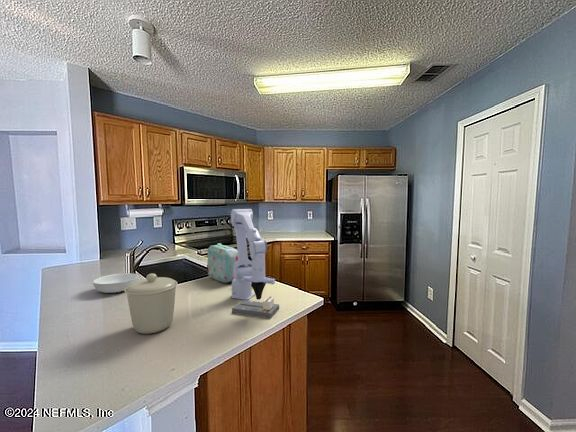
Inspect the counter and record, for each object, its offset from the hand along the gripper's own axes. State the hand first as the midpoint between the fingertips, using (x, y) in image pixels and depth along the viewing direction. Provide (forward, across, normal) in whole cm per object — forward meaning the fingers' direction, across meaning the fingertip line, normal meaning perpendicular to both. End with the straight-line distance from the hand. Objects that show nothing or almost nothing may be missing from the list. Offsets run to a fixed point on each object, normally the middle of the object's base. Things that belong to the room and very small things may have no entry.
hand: (258, 298), depth 119 cm
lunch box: (+6, -41, +36) cm, 55 cm away
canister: (+6, -32, -26) cm, 42 cm away
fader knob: (+3, +5, 0) cm, 6 cm away
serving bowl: (+6, -85, +2) cm, 86 cm away
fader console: (+6, -1, 0) cm, 6 cm away
